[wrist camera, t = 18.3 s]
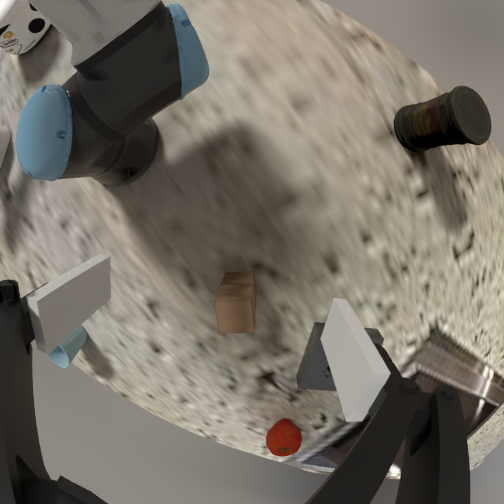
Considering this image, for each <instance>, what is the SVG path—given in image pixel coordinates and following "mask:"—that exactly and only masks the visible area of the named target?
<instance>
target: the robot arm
mask: <svg viewBox="0 0 504 504" xmlns="http://www.w3.org/2000/svg"><path fill="white" fill-rule="evenodd" d="M27 1H28V2H30V3H31V4H32V5H33V6H34V7H35V8H36V9H37V10H38V11H39V12H40V13H41V14H42V15H43V16H44V17H45V18H46V19H47V20H48V21H49V22H50V23H51V24H52V25H53V26H54V27H55V28H56V29H57V30H58V31H59V32H60V33H61V34H62V35H63V36H64V37H65V38H66V39H67V40H68V41H69V42H70V43H71V44H72V48H73V49H72V56H71V64H72V66H74V67H75V68H76V69H77V70H78V71H77V72H76V73H75V74H74V75H73V76H72V77H71V78H70V79H68V80H67V81H66V82H65V83H64V84H63V85H62V86H60V85H58V84H52V85H48V86H43V87H41V88H39V89H38V90H37V91H36V92H34V93H33V95H32V96H31V97H30V98H29V100H28V101H27V103H26V104H25V106H24V108H23V110H22V113H21V115H20V118H19V122H18V126H17V133H16V152H17V157H18V161H19V163H20V166H21V168H22V169H23V171H24V172H25V173H26V174H27V175H28V176H29V177H31V178H33V179H37V180H48V181H54V180H56V179H66V178H79V177H92V178H93V179H95V180H97V181H98V182H100V183H102V184H105V185H111V186H116V185H124V184H128V183H131V182H133V181H135V180H136V179H138V178H139V177H140V176H141V175H142V174H143V173H144V172H145V171H146V170H147V169H148V167H149V166H150V164H151V163H152V161H153V158H154V156H155V153H156V149H157V143H158V134H157V129H156V125H155V123H154V121H153V119H152V118H151V117H153V116H154V115H156V114H157V113H159V112H160V111H162V110H163V109H165V108H166V107H168V106H169V105H171V104H172V103H174V102H176V101H177V100H182V99H183V98H184V97H185V95H187V94H188V93H190V92H191V91H193V90H195V89H196V88H198V87H199V86H201V85H202V84H204V83H205V82H206V80H207V78H208V76H209V66H208V61H207V58H206V55H205V52H204V50H203V47H202V44H201V42H200V40H199V37H198V35H197V33H196V31H195V29H194V27H193V26H192V25H191V22H190V20H189V18H188V15H187V14H186V12H185V10H184V9H183V8H182V6H180V5H179V4H169V5H168V6H167V7H165V5H164V4H163V2H162V1H161V0H27ZM110 298H111V284H110V256H107V255H103V254H99V255H97V256H95V257H94V258H92V259H90V260H88V261H86V262H84V263H82V264H81V265H79V266H77V267H75V268H73V269H72V270H70V271H68V272H66V273H65V274H63V275H61V276H59V277H58V278H56V279H54V280H52V281H51V282H48V283H46V284H44V285H42V286H41V287H39V288H37V289H36V290H34V291H32V292H31V293H29V294H27V295H26V296H24V297H23V298H21V299H20V293H19V287H18V282H17V281H15V280H3V281H0V504H108V503H106V502H105V501H103V500H102V499H100V498H99V497H98V496H96V495H95V494H93V493H92V492H91V491H89V490H87V489H85V488H83V487H81V486H79V485H77V484H75V483H73V482H71V481H70V480H68V479H66V478H64V477H62V476H60V477H59V479H58V481H55V480H51V479H50V477H49V475H48V473H47V471H46V469H45V466H44V463H43V459H42V455H41V449H40V444H39V438H38V432H37V426H36V418H35V409H34V397H33V379H32V346H31V342H32V341H33V340H34V339H35V340H36V344H37V347H38V349H39V350H41V351H42V352H44V353H47V354H48V355H49V354H50V353H51V352H52V351H53V350H54V349H55V348H56V347H57V346H58V345H59V344H61V343H62V342H63V341H64V340H65V339H66V338H67V337H68V336H69V335H70V334H71V333H72V332H73V331H74V330H75V329H77V328H78V327H79V326H80V325H81V324H82V323H83V322H84V321H85V320H86V319H88V318H89V317H90V316H91V315H92V314H93V313H94V312H95V311H96V310H98V309H99V308H100V307H101V306H102V305H103V304H104V303H106V302H107V301H108V300H109V299H110ZM321 342H322V345H323V348H324V351H325V354H326V357H327V361H328V364H329V367H330V370H331V373H332V376H333V380H334V383H335V386H336V389H337V393H338V396H339V399H340V402H341V406H342V409H343V413H344V416H345V419H346V422H353V421H363V419H364V418H365V416H366V414H367V413H368V412H369V415H370V417H371V419H370V421H369V422H368V423H367V425H366V426H365V428H364V429H363V431H362V432H361V433H360V436H359V437H358V439H357V440H356V441H355V443H354V444H353V446H352V447H351V449H350V450H349V451H348V453H347V454H346V455H345V457H344V458H343V459H342V461H341V462H340V463H339V465H338V466H337V467H336V468H335V470H334V471H333V472H332V473H331V475H330V476H329V477H328V478H327V480H326V481H325V482H324V483H323V484H322V485H321V486H320V488H319V489H318V490H317V491H316V492H315V493H314V495H312V496H311V498H310V499H309V500H308V501H307V502H306V503H305V504H370V502H371V501H372V499H373V497H374V496H375V494H376V492H377V490H378V489H379V487H380V486H381V484H382V482H383V480H384V478H385V477H386V475H387V473H388V471H389V469H390V467H391V465H392V463H393V461H394V459H395V457H396V455H397V453H398V451H399V448H400V446H401V444H402V442H403V439H404V437H405V435H406V441H405V450H404V458H403V465H402V472H401V478H400V484H399V488H398V493H397V498H396V503H395V504H470V467H469V454H468V444H467V436H466V429H465V422H464V416H463V411H462V405H461V400H460V396H459V394H458V392H457V391H456V390H455V389H454V388H453V387H451V386H447V385H439V386H438V387H437V388H436V389H435V391H434V393H428V392H422V391H421V389H420V387H419V385H418V384H417V383H416V382H415V381H413V380H411V379H408V378H404V377H402V376H401V374H400V372H399V371H398V369H397V367H396V366H395V364H394V363H393V362H392V359H391V358H390V357H389V355H388V353H387V351H386V350H385V349H384V348H383V347H382V346H381V345H379V344H378V343H373V342H372V341H371V339H370V337H369V336H368V334H367V332H366V331H365V329H364V328H363V326H362V324H361V323H360V321H359V319H358V318H357V316H356V315H355V313H354V312H353V310H352V308H351V307H350V305H349V304H348V302H347V301H346V300H345V299H338V298H333V302H332V305H331V308H330V311H329V314H328V318H327V321H326V324H325V327H324V330H323V333H322V336H321Z"/></svg>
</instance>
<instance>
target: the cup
mask: <svg viewBox="0 0 504 504" xmlns="http://www.w3.org/2000/svg"><path fill="white" fill-rule="evenodd" d="M86 340H87V333H86V331H85V329H84V328H83V327H82V326H81V325H80V326H79V327H78V328H77V329H75V330H74V331H73V332H72V333H71V334H70V335H69V336H68V337H67V338H66V339H65V340H64V341H63V342H62V343H61V344H59V345H58V346H57V347H56V348H55V349H54V350H53V351H52V352H51V353H50V354H49V355H48V354H47V355H48V356H49V358H50V359H51V360H52V361H53V362H54V363H55V364H56V365H57V366H59V367H61V368H67V367H68V366H69V365H70V363H71V362H72V360H73V359H74V357H75V356H76V354H77V353H78V352H79V350H80V349H81V347H82V346H83V344H84V343H85V341H86Z"/></svg>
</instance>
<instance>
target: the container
mask: <svg viewBox="0 0 504 504" xmlns="http://www.w3.org/2000/svg"><path fill="white" fill-rule="evenodd" d="M394 130H395V133H396V136H397V138H398V140H399V141H400V142H401V144H402V145H403V146H404V147H406V148H407V149H409V150H411V151H414V152H422V151H426V150H429V149H430V148H436V147H438V146H445V145H455V144H460V145H463V144H466V143H470V144H474V145H481V144H483V143H485V142H486V141H487V140H488V139H489V136H490V133H491V119H490V114H489V111H488V109H487V107H486V105H485V103H484V101H483V100H482V98H481V97H480V96H479V95H478V93H477V92H475V91H474V90H473V89H471V88H469V87H466V86H457V87H455V88H454V89H453V90H452V91H451V92H450V93H445V94H443V95H441V96H439V97H436V98H434V99H431V100H429V101H426V102H423V103H418V104H412V105H407V106H404V107H402V108H401V109H400V110H399V111H398V112H397V114H396V116H395V119H394Z"/></svg>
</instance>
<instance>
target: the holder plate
mask: <svg viewBox="0 0 504 504" xmlns="http://www.w3.org/2000/svg"><path fill="white" fill-rule="evenodd" d="M325 324H326V323H318V322H314V326H313V329H312V332H311V335H310V338H309V341H308V344H307V347H306V350H305V353H304V356H303V359H302V362H301V365H300V368H299V370H298V373H297V376H296V377H297V383H298V388H301V389H315V390H334V391H337V389H336V386H335V383H334V380H333V376H332V373H331V370H330V367H329V364H328V361H327V357H326V354H325V351H324V348H323V345H322V342H321V336H322V333H323V330H324V327H325ZM364 329H365V331H366V332H367V334H368V336H369V337H370V339H371V341H372V342H373V343H378V344H379V345H382V343H383V340H384V338H383V337H382V335H381V334H380V332H379V331H378V329H372V328H364Z"/></svg>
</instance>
